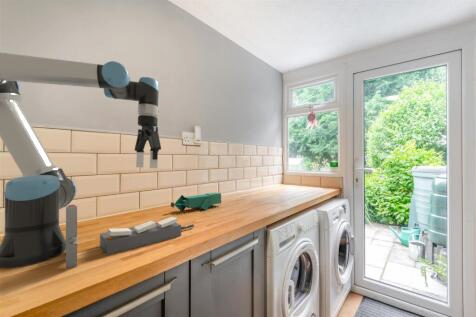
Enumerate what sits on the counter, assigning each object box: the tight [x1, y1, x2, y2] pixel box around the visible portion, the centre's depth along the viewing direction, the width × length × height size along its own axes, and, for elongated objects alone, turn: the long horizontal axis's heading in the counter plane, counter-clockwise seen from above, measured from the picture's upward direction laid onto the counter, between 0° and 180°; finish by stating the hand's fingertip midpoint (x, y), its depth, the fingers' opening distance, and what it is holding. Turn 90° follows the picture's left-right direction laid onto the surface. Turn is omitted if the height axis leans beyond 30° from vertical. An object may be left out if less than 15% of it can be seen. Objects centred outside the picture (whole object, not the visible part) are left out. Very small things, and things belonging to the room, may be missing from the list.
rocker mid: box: [133, 220, 156, 233], centre depth 73 cm, size 6×4×1 cm, turn 133°
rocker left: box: [106, 227, 132, 236], centre depth 68 cm, size 6×4×1 cm, turn 133°
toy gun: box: [65, 204, 78, 270], centre depth 61 cm, size 2×16×15 cm
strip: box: [99, 221, 195, 256], centre depth 78 cm, size 32×10×4 cm, turn 133°
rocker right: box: [157, 216, 178, 228], centre depth 79 cm, size 6×4×1 cm, turn 133°
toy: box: [170, 191, 222, 212], centre depth 124 cm, size 12×10×30 cm
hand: (146, 167), depth 88 cm, fingers open, 13 cm apart
